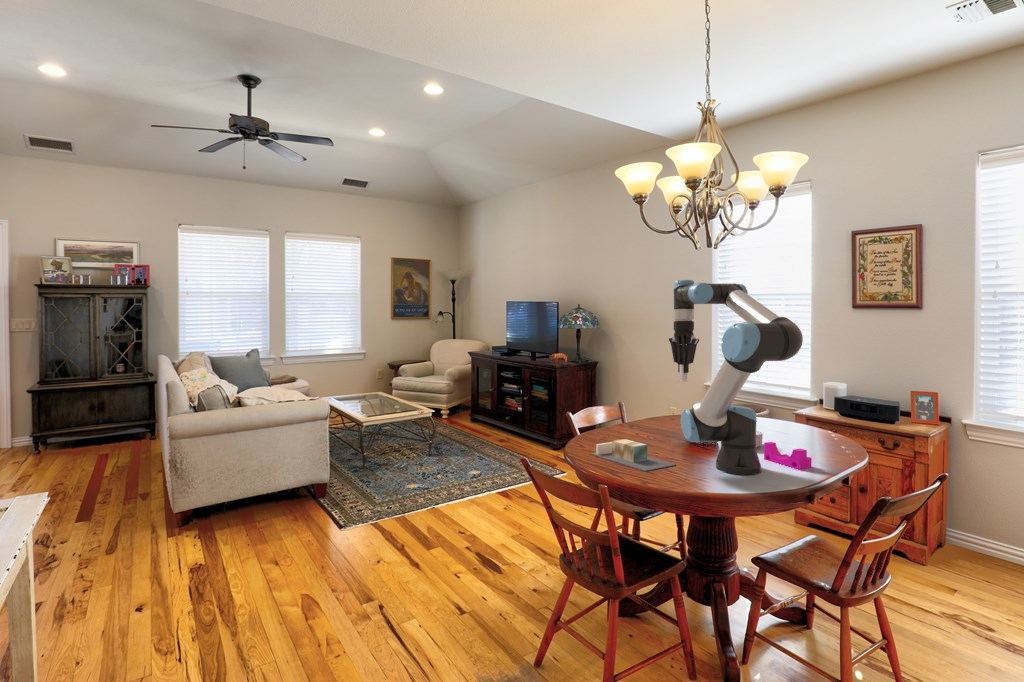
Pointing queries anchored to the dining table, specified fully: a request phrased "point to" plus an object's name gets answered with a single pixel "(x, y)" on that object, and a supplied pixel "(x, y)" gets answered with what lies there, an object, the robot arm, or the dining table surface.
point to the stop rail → (604, 448)
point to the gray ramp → (642, 465)
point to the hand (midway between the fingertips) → (683, 381)
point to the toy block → (787, 457)
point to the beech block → (629, 450)
